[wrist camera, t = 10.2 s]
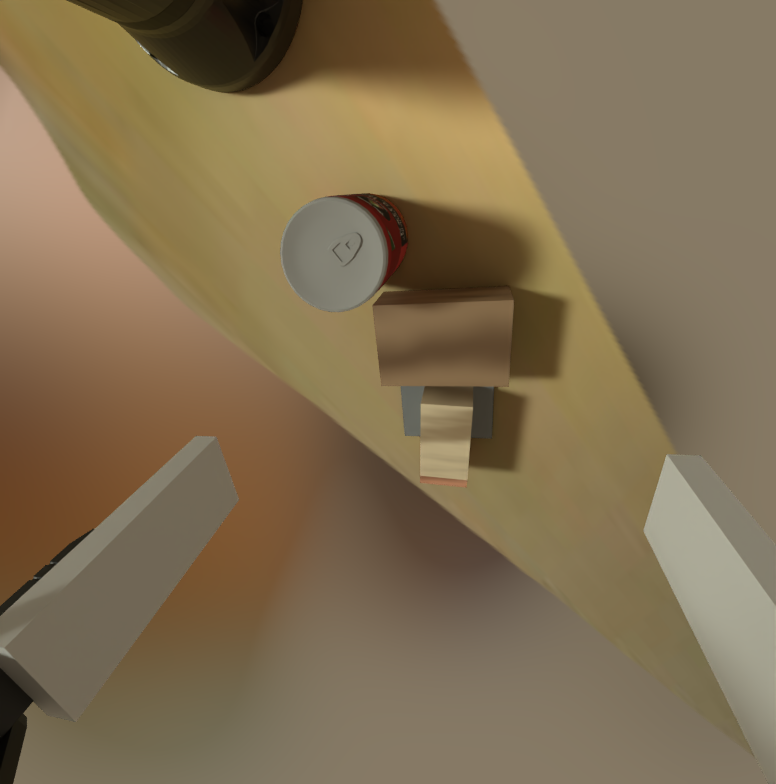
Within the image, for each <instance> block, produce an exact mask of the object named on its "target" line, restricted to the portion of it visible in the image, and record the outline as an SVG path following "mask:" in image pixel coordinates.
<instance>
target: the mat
mask: <svg viewBox="0 0 776 784" xmlns="http://www.w3.org/2000/svg"><path fill="white" fill-rule="evenodd" d="M424 387H425V386H401V395H402V407H403V419H404V431H405V436H420V435H421V400H422V396H423V392H424ZM493 399H494V387H485V386H473V415H472V427H471V438H491V439H492V423H493Z"/></svg>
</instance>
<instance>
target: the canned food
mask: <svg viewBox="0 0 776 784" xmlns="http://www.w3.org/2000/svg"><path fill="white" fill-rule="evenodd" d="M407 245H408V233H407V226H406V224H405V221H404V218H403V216H402V215H401V213H400V211H399V210H398V209H397V208H396V206H395V205H394V204H393V203H391V202H390V201H389V200H387V199H386V198H384V197H381V196H379V195H375V194H370V193H368V194H351V195H337V196H329V197H323V198H319V199H316V200H314V201H311V202H310V203H308V204H306V205H304V206H302V207H301V208H300V209H299V210H298V211H297V212H296V213H295V214H294V215H293V216H292V218H291V219H290V220H289V222H288V224H287V226H286V228H285V230H284V233H283V237H282V241H281V251H280V255H281V263H282V267H283V271H284V274H285V276H286V278H287V280H288V282H289V284H290V286H291V287H292V288H293V290H294V291H295V293H296V294H297V295H298V296H299V297H300V298H302V299H303V300H304V301H305V302H307V303H308V304H310V305H311V306H313V307H316V308H318V309H320V310H324V311H329V312H343V311H348V310H351V309H354V308H356V307H359V306H360V305H362V304H363V303H365V302H366V301H368V300H369V299H370V298H371V297H372V296H373V295H374V294H375V293H376V292H377V291H378V290H379V289H380V288H381V287H382V286H383V285H384V283H385V282H386V281H387V280H388V279H389V277H390V276H391V275H392V274H393V273H394V272H395V270H396V269H397V268H398V267H399V265H400V264H401V262H402V260H403V258H404V256H405V253H406V249H407Z"/></svg>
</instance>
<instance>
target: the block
mask: <svg viewBox="0 0 776 784" xmlns="http://www.w3.org/2000/svg"><path fill="white" fill-rule="evenodd" d="M472 415H473V386H425V387H424V392H423V396H422V400H421V435H420V483H428V484H438V485H447V486H457V487H467V477H468V464H469V452H470V440H471V427H472Z"/></svg>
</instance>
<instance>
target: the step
mask: <svg viewBox="0 0 776 784" xmlns="http://www.w3.org/2000/svg"><path fill="white" fill-rule="evenodd" d="M513 309H514V299H513V296H512V293H511V290H510V287H509V286H498V287H477V288H456V289H434V290H413V291H392V292H383V293H382V295H381V296H380V297H379V298H378V299H377V301H376V302H375V303H374V304H373V315H374V324H375V333H376V342H377V351H378V360H379V369H380V378H381V386H485V387H509V374H510V358H511V342H512V325H513Z"/></svg>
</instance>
